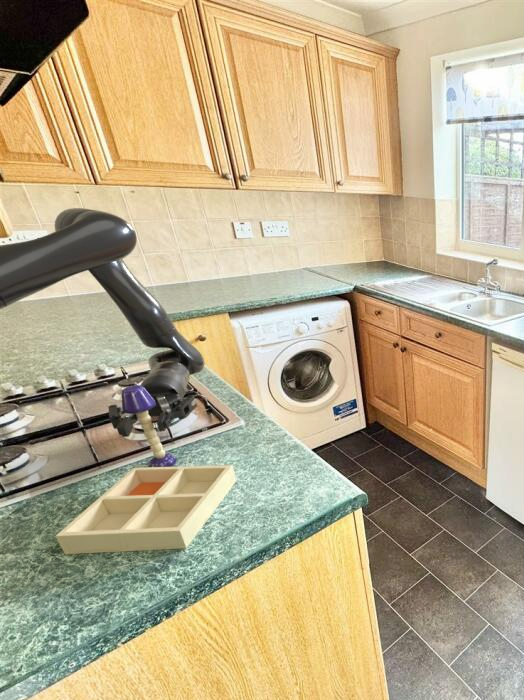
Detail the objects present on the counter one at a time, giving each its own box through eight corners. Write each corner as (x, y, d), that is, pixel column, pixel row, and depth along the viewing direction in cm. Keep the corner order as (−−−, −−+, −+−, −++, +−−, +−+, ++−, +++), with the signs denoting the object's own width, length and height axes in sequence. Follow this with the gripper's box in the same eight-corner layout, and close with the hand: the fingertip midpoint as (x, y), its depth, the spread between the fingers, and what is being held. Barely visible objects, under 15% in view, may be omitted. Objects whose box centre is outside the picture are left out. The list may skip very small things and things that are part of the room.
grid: (64, 554, 62) (55, 536, 60) (140, 483, 76) (133, 467, 75) (186, 548, 64) (179, 530, 62) (236, 480, 79) (232, 465, 77)
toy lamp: (148, 475, 78) (118, 396, 71) (143, 464, 81) (113, 387, 74) (179, 464, 82) (153, 388, 75) (173, 454, 85) (147, 380, 78)
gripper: (112, 379, 84) (81, 418, 71) (198, 370, 90) (185, 404, 77) (125, 412, 87) (97, 455, 74) (207, 401, 94) (196, 439, 80)
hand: (142, 429), depth 75 cm, fingers open, 4 cm apart
